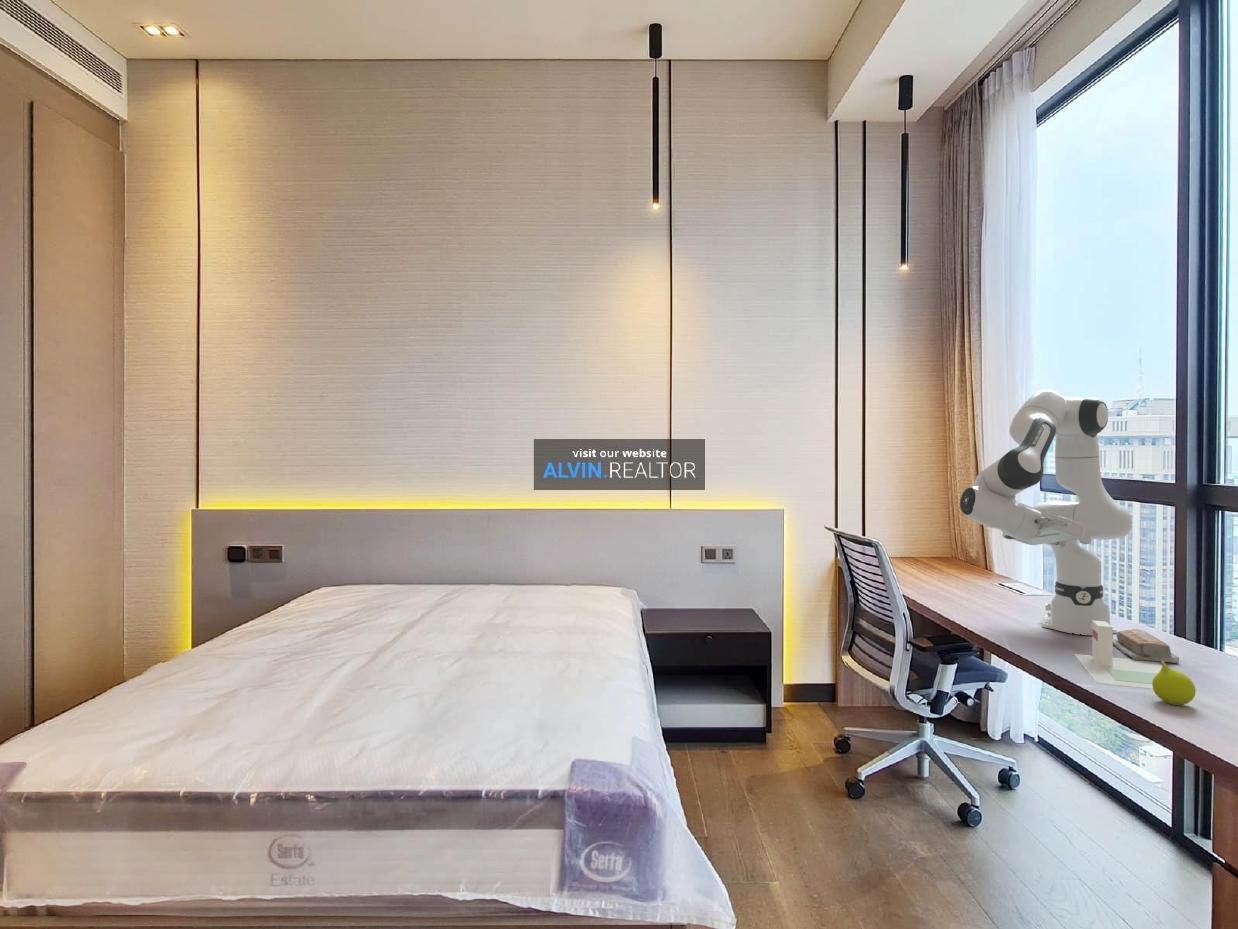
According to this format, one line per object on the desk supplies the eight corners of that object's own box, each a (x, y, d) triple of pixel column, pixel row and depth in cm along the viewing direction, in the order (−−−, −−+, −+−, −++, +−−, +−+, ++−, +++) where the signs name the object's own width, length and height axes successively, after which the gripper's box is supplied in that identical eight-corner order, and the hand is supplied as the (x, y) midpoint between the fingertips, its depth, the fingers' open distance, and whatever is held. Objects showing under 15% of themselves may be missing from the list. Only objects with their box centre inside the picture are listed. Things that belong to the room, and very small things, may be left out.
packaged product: (1180, 645, 166) (1132, 641, 170) (1180, 664, 166) (1133, 660, 170) (1151, 628, 183) (1108, 626, 187) (1151, 646, 183) (1108, 643, 186)
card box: (1092, 658, 172) (1091, 620, 172) (1106, 660, 170) (1106, 621, 170) (1097, 665, 166) (1097, 625, 166) (1112, 666, 165) (1112, 627, 165)
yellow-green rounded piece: (1145, 697, 146) (1144, 652, 146) (1181, 698, 145) (1181, 653, 145) (1165, 709, 139) (1165, 662, 139) (1203, 711, 138) (1203, 663, 138)
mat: (1073, 655, 176) (1073, 653, 176) (1157, 663, 169) (1157, 661, 169) (1096, 684, 154) (1096, 682, 154) (1194, 695, 147) (1194, 692, 147)
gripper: (1054, 505, 161) (1108, 527, 161) (1004, 516, 181) (1053, 535, 181) (1047, 529, 160) (1102, 551, 159) (998, 538, 180) (1047, 557, 179)
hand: (1076, 543), depth 170 cm, fingers open, 8 cm apart
